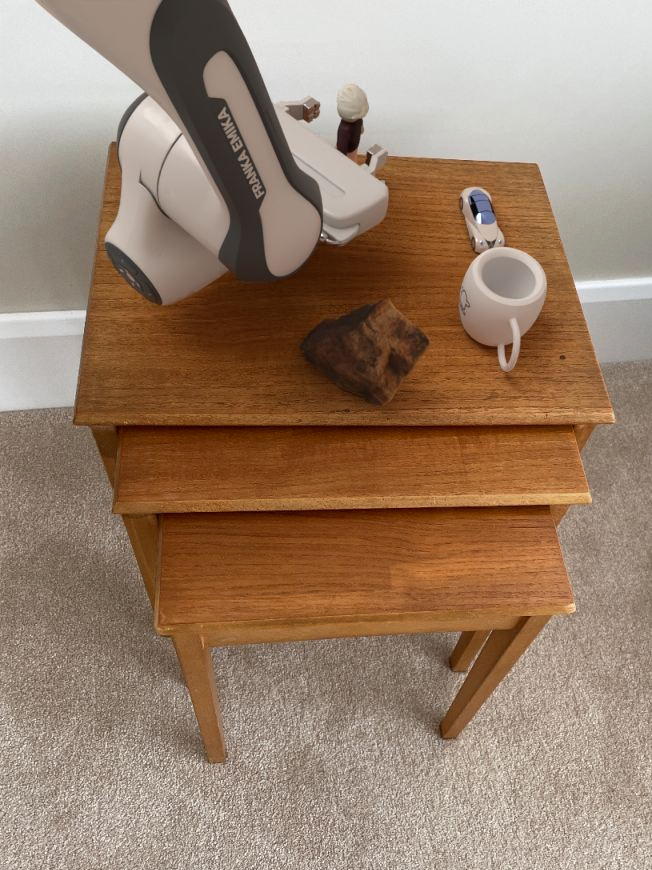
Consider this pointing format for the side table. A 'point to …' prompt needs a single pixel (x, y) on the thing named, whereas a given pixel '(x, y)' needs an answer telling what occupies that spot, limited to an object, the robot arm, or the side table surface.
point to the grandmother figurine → (351, 119)
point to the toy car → (480, 219)
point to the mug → (502, 299)
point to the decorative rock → (367, 350)
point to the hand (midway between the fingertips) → (348, 128)
